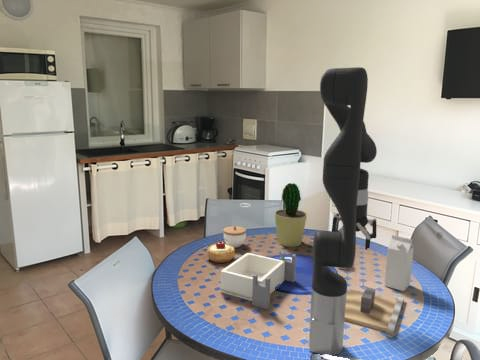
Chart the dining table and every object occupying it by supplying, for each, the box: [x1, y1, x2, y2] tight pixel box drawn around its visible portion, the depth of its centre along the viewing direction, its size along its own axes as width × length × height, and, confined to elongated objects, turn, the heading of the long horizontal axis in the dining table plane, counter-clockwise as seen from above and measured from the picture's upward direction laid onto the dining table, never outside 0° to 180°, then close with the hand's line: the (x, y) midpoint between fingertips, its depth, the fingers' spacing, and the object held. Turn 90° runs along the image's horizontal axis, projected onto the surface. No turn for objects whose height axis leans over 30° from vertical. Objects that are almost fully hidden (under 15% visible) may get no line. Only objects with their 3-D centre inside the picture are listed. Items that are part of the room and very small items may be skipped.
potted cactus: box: [274, 182, 308, 248], centre depth 188 cm, size 15×15×30 cm
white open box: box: [220, 251, 297, 310], centre depth 143 cm, size 25×20×10 cm
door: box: [344, 286, 405, 339], centre depth 128 cm, size 25×18×6 cm
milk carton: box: [384, 234, 415, 292], centre depth 145 cm, size 7×7×19 cm
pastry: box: [206, 238, 236, 264], centre depth 169 cm, size 12×12×9 cm
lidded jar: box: [223, 225, 247, 249], centre depth 185 cm, size 11×11×9 cm
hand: (352, 247), depth 132 cm, fingers open, 8 cm apart
